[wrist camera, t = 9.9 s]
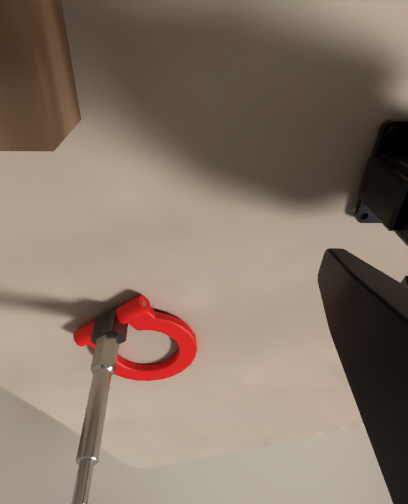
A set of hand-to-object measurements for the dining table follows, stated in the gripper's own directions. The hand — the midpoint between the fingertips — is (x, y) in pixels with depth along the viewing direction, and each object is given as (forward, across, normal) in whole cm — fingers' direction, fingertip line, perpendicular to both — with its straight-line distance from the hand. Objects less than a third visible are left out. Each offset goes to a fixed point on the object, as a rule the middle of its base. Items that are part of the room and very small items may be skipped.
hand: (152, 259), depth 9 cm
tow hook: (+13, +2, +18) cm, 22 cm away
